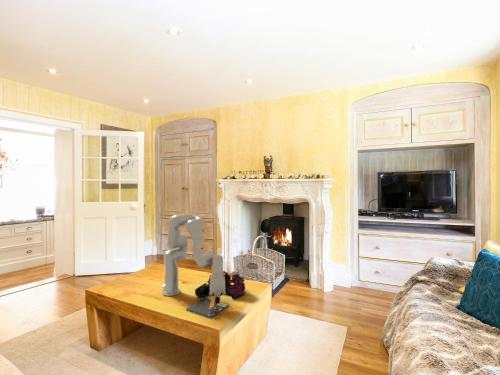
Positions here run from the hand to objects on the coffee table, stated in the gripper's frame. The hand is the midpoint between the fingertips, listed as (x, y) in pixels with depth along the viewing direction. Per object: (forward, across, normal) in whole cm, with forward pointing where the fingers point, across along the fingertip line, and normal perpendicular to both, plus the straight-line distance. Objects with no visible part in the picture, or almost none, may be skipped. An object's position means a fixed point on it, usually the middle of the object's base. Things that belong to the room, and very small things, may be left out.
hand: (217, 302), depth 168 cm
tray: (+3, +6, 0) cm, 7 cm away
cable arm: (+1, +3, +3) cm, 5 cm away
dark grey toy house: (+3, +12, -19) cm, 22 cm away
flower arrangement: (+3, -5, -24) cm, 25 cm away
